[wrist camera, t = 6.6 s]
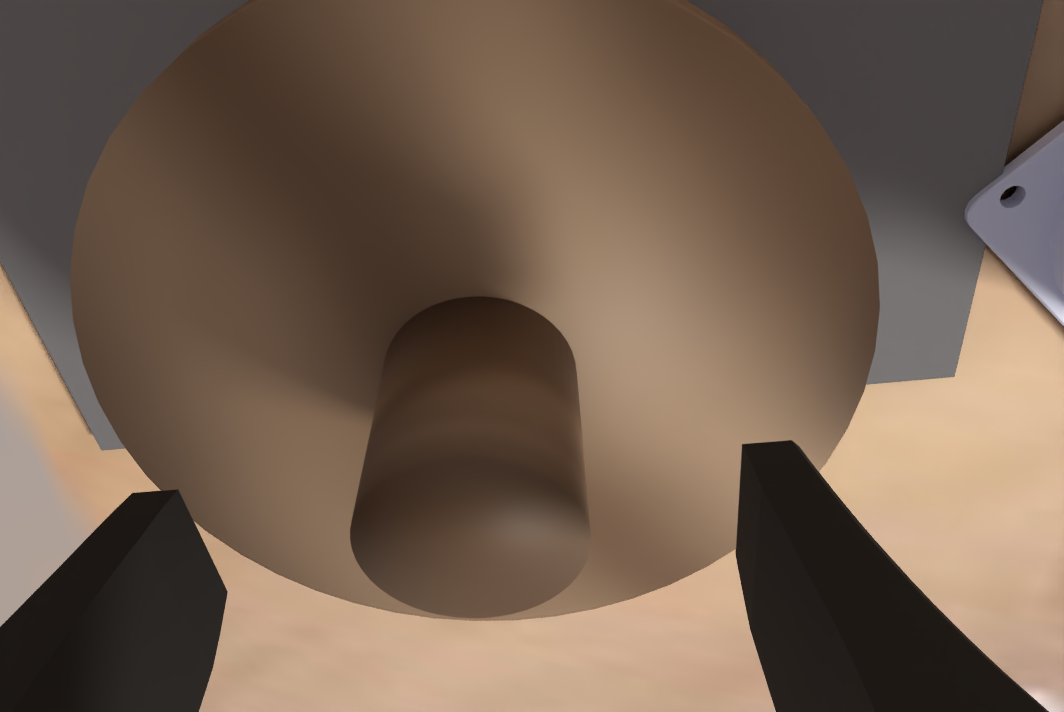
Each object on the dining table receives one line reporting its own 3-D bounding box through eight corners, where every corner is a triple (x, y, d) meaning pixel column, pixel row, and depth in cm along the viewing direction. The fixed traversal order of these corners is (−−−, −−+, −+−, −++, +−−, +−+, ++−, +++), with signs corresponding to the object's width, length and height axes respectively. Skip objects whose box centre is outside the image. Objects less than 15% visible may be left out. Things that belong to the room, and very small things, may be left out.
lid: (499, -319, 10) (487, -340, 6) (998, 368, 15) (1140, 560, 12) (-60, 329, 15) (-245, 523, 11) (474, 663, 21) (465, 860, 17)
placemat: (-291, -315, 14) (-310, -316, 13) (1148, -510, 13) (1165, -516, 12) (107, 440, 23) (101, 450, 23) (948, 367, 22) (954, 377, 22)
